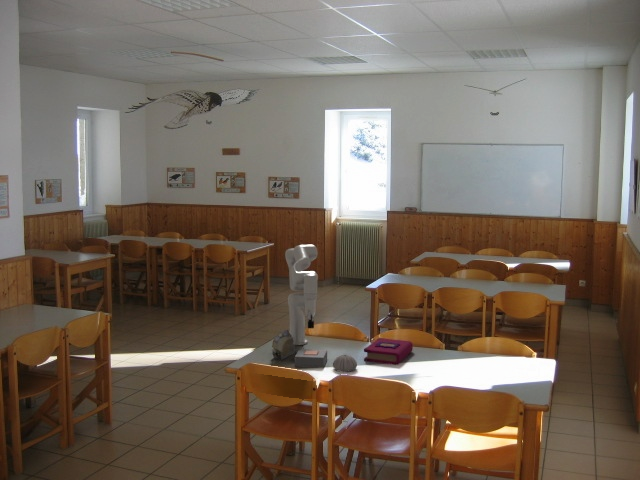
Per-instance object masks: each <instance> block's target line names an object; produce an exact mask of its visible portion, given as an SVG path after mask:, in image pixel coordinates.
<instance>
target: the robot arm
mask: <svg viewBox="0 0 640 480" xmlns="http://www.w3.org/2000/svg"><path fill="white" fill-rule="evenodd" d="M318 254H319V253H318V248H317V246H316V245H314V244H299V245H296V246H295V247H294V248H288V249H286V250H285V260H286V263H287V266H288V271H289V272H288V273H289V274H288V275H289V276H288V277H289V278H288V279H289V288H290V290H291V291H294V293H290V294H289V295H288V297H287V303H288V312H289V333H290V334H291V336H292V337H293V344H294V345H295V346H302V345H307V344H308V339H306V317H307V329H314V328H315V321H314V320H315V315H316V311H317V310H316V308H317V305H316V304H317V300H318V281H319V275H318V274H317V272H316V271H314V270H310V271H309V270H308V271H307V269H308V268H310V266H311V263H312V262H313V261H314V260H316V259H317V257H318ZM305 270H306V271H305ZM296 291H297V292H296ZM298 291H299V292H298ZM302 291H303V292H302ZM302 309H304V311H303V310H302Z"/></svg>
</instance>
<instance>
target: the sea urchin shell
mask: <svg viewBox="0 0 640 480" xmlns="http://www.w3.org/2000/svg"><path fill="white" fill-rule="evenodd" d="M357 366H358V363H357V361H356V359H355V358H354V356H352V355H349V354H341V355H339V356H338V357H336V358H335V359H334V361H333V362H332V368H333V369H334V370H336V371H338V372H343V373H344V372H346V373H347V372H352V371H355V369H357Z"/></svg>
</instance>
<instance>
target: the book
mask: <svg viewBox="0 0 640 480" xmlns="http://www.w3.org/2000/svg"><path fill="white" fill-rule="evenodd" d="M413 347H414V346H413V342H412V341H410V340H403V339H402V340H401V339H393V338H385V337H384V338H383V337H382V338H381V337H378V338H377V339H376V340H375V341H373V342H372V343H370V344H369V345H368V346H367V347H365V348H363V352H364V353H366V357H363V361H364V362H367V363H368V362H370V363H379V364H386V365H397V366H398V365H399V364H400V363H401V362H402V361H403V360H404V359H405V358H406V357H407V356H409V355H410V354H411V353H412V352H413Z"/></svg>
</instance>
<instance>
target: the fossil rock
mask: <svg viewBox="0 0 640 480" xmlns="http://www.w3.org/2000/svg"><path fill="white" fill-rule="evenodd" d="M295 346H296V345H294V344H293V337H292V336H291V334H290V330H288V329H285V330H283V331H282V332H280V334H278V335H277V336H275V337H274V338H273V340H272V345H271V348H272V350H271V351H272V353H271V354H272V357H273V359H277V360H278V361H280V362H281V361H283V360H285V359H286V358H288V357H289V356H291V355H294V354H295V351H296V350H295Z"/></svg>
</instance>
